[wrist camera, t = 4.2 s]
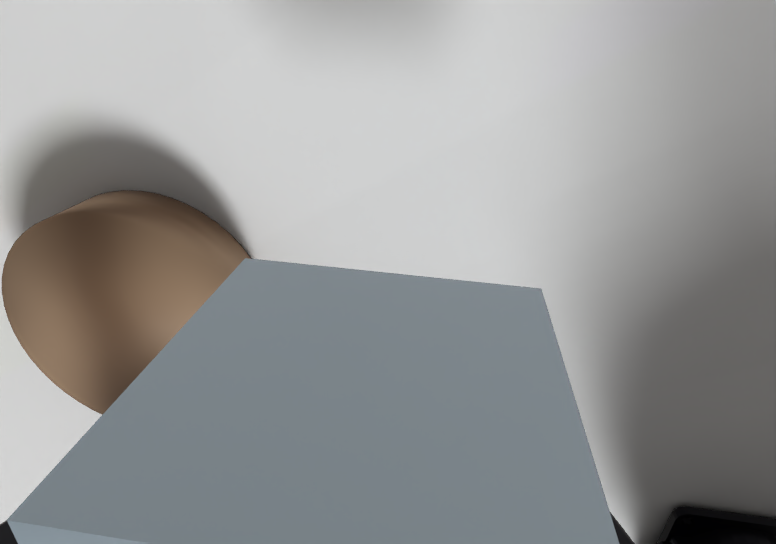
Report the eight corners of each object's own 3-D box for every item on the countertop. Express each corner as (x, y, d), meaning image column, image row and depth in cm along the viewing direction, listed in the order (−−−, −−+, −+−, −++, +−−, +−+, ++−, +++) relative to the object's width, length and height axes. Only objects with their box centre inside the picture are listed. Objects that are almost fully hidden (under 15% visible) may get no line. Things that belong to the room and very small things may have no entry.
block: (541, 288, 8) (643, 623, 4) (495, 495, 10) (521, 855, 6) (245, 258, 8) (5, 521, 4) (265, 462, 11) (128, 772, 6)
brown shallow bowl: (263, 202, 18) (236, 226, 16) (278, 403, 23) (258, 443, 21) (20, 179, 19) (-36, 199, 17) (81, 377, 24) (42, 413, 22)
